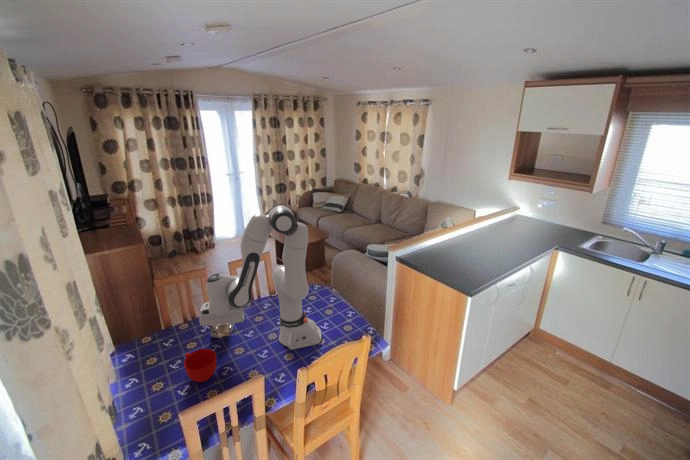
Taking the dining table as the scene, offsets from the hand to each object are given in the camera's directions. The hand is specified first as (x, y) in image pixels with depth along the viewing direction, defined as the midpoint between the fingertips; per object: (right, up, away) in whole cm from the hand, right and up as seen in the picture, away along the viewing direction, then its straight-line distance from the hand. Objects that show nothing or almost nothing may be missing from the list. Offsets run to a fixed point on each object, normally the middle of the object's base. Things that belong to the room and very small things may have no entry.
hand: (224, 329), depth 156 cm
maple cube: (0, -2, +1) cm, 2 cm away
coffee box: (-8, -6, +16) cm, 19 cm away
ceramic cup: (-7, -17, -11) cm, 21 cm away
